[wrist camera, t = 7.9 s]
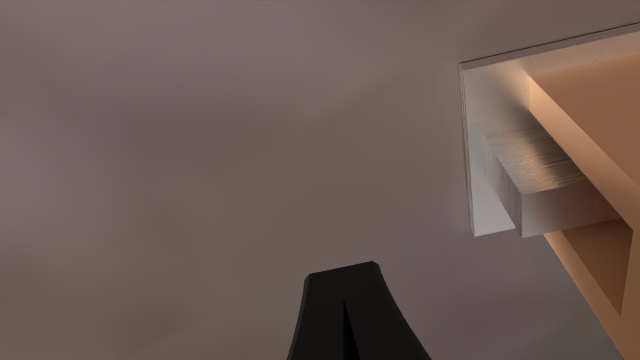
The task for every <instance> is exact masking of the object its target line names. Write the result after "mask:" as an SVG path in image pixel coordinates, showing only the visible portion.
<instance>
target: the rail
mask: <svg viewBox="0 0 640 360" xmlns="http://www.w3.org/2000/svg"><path fill="white" fill-rule="evenodd" d="M637 52H640V23H638V24H633V25H629V26H624V27H620V28H615V29H611V30H607V31H602V32H598V33H593V34H589V35H585V36H580V37H576V38H571V39H567V40H563V41H558V42H554V43H549V44H545V45H541V46H536V47H532V48H527V49H523V50H518V51H514V52H510V53H505V54H501V55H496V56H492V57H488V58H483V59H479V60H474V61H470V62H466V63H461V64H459V75H460V89H461V103H462V117H463V131H464V145H465V159H466V172H467V186H468V200H469V214H470V228H471V230H472V232H473V234H474V236H480V235H485V234H490V233H495V232H500V231H504V230H509V229H514V228H516V229H517V231H518V232H519V234H520V236H521V237H522V238H526V237H531V236H536V235H541V234H546V233H550V232H555V231H560V230H565V229H570V228H575V227H580V226H584V225H589V224H594V223H599V222H604V221H609V220H614V219H618V218H622V217H621V216H620V215H619V213H618V212H617V211H616V210H615V209H614V208H613V207H612V205H611V204H610V203H609V202H608V201H607V200H606V198H605V197H604V196H603V195H602V194H601V193H600V192H599V190H598V189H597V188H596V187H595V186H594V185H593V184H592V182H591V181H590V180H589V179H588V178H587V177H586V175H585V174H584V173H583V172H582V171H581V170H580V169H579V167H578V166H577V165H576V164H575V163H574V162H573V160H572V159H571V158H570V157H569V156H568V155H567V154H566V152H565V151H564V150H563V149H562V148H561V147H560V146H559V144H558V143H557V142H556V141H555V140H554V139H553V137H552V136H551V135H550V134H549V133H548V132H547V131H546V129H545V128H544V127H543V126H542V125H541V124H540V123H539V121H538V120H537V119H536V118H535V117H534V116H533V114H532V113H531V112H530V111H529V109H530V76H534V75H539V74H543V73H548V72H552V71H557V70H561V69H566V68H570V67H574V66H579V65H583V64H588V63H592V62H597V61H601V60H606V59H610V58H615V57H619V56H624V55H628V54H632V53H637Z"/></svg>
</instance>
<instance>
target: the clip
mask: <svg viewBox="0 0 640 360" xmlns="http://www.w3.org/2000/svg"><path fill="white" fill-rule="evenodd" d="M529 111H530V112H531V113H532V114H533V116H534V117H535V118H536V119H537V120H538V121H539V123H540V124H541V125H542V126H543V127H544V128H545V129H546V131H547V132H548V133H549V134H550V135H551V136H552V137H553V139H554V140H555V141H556V142H557V143H558V144H559V146H560V147H561V148H562V149H563V150H564V151H565V152H566V154H567V155H568V156H569V157H570V158H571V159H572V160H573V162H574V163H575V164H576V165H577V166H578V167H579V169H580V170H581V171H582V172H583V173H584V174H585V175H586V177H587V178H588V179H589V180H590V181H591V182H592V184H593V185H594V186H595V187H596V188H597V189H598V190H599V192H600V193H601V194H602V195H603V196H604V197H605V198H606V200H607V201H608V202H609V203H610V204H611V205H612V207H613V208H614V209H615V210H616V211H617V212H618V213H619V215H620V216H621V217H622V218H618V219H614V220H609V221H604V222H599V223H594V224H589V225H584V226H580V227H575V228H570V229H565V230H560V231H555V232H550V233H546V234H544V236H545V237H546V239H547V240H548V242H549V244H550V245H551V247H552V248H553V250H554V251H555V253H556V254H557V256H558V258H559V259H560V261H561V262H562V264H563V265H564V267H565V268H566V270H567V271H568V273H569V275H570V276H571V278H572V279H573V281H574V282H575V284H576V285H577V287H578V289H579V290H580V292H581V293H582V295H583V296H584V298H585V299H586V301H587V302H588V304H589V306H590V307H591V309H592V310H593V312H594V313H595V315H596V316H597V318H598V320H599V321H600V323H601V324H602V326H603V327H604V329H605V330H606V332H607V333H608V335H609V337H610V338H611V340H612V341H613V343H614V344H615V346H616V347H617V349H618V350H619V352H620V354H621V355H622V357H623V358H624V360H640V52H637V53H632V54H628V55H624V56H619V57H615V58H610V59H606V60H601V61H597V62H592V63H588V64H583V65H579V66H574V67H570V68H566V69H561V70H557V71H552V72H548V73H543V74H539V75H534V76H530V109H529Z"/></svg>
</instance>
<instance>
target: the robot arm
mask: <svg viewBox="0 0 640 360" xmlns="http://www.w3.org/2000/svg"><path fill="white" fill-rule="evenodd" d="M287 360H432V359H431V358H430V357H429V355H428V354H427V352H426V351H425V349H424V348H423V346H422V345H421V343H420V342H419V340H418V339H417V337H416V336H415V334H414V333H413V331H412V330H411V328H410V327H409V325H408V323H407V322H406V320H405V318H404V317H403V315H402V313H401V312H400V310H399V308H398V306H397V304H396V303H395V301H394V299H393V297H392V295H391V293H390V291H389V289H388V287H387V285H386V283H385V281H384V278H383V276H382V273H381V271H380V267H379V264H377V263H375V262H373V261H370V262H365V263H360V264H356V265H351V266H346V267H341V268H336V269H332V270H327V271H322V272H317V273H312V274H309V275H308V276H307V277H306V279H305V281H304V290H303V296H302V301H301V307H300V311H299V316H298V320H297V324H296V328H295V333H294V337H293V340H292V344H291V347H290V350H289V354H288V357H287Z"/></svg>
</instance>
